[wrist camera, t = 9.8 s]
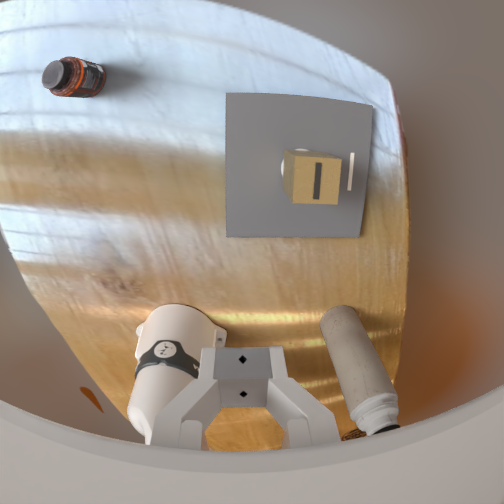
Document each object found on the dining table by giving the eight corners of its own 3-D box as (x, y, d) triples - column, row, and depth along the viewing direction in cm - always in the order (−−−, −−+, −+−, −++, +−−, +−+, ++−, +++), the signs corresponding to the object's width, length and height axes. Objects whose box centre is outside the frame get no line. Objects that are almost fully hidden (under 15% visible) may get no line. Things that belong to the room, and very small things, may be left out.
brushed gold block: (319, 189, 40) (337, 205, 33) (282, 187, 40) (292, 203, 33) (322, 151, 38) (342, 159, 30) (284, 149, 38) (295, 156, 30)
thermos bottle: (343, 338, 57) (385, 449, 32) (312, 330, 56) (348, 452, 30) (363, 310, 54) (421, 421, 29) (332, 300, 53) (385, 424, 27)
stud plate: (355, 234, 47) (378, 259, 38) (226, 233, 46) (224, 260, 37) (368, 105, 37) (398, 104, 29) (226, 94, 36) (222, 85, 28)
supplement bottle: (106, 59, 32) (70, 46, 22) (108, 92, 34) (71, 86, 24) (75, 70, 32) (36, 63, 22) (77, 102, 34) (37, 102, 24)
